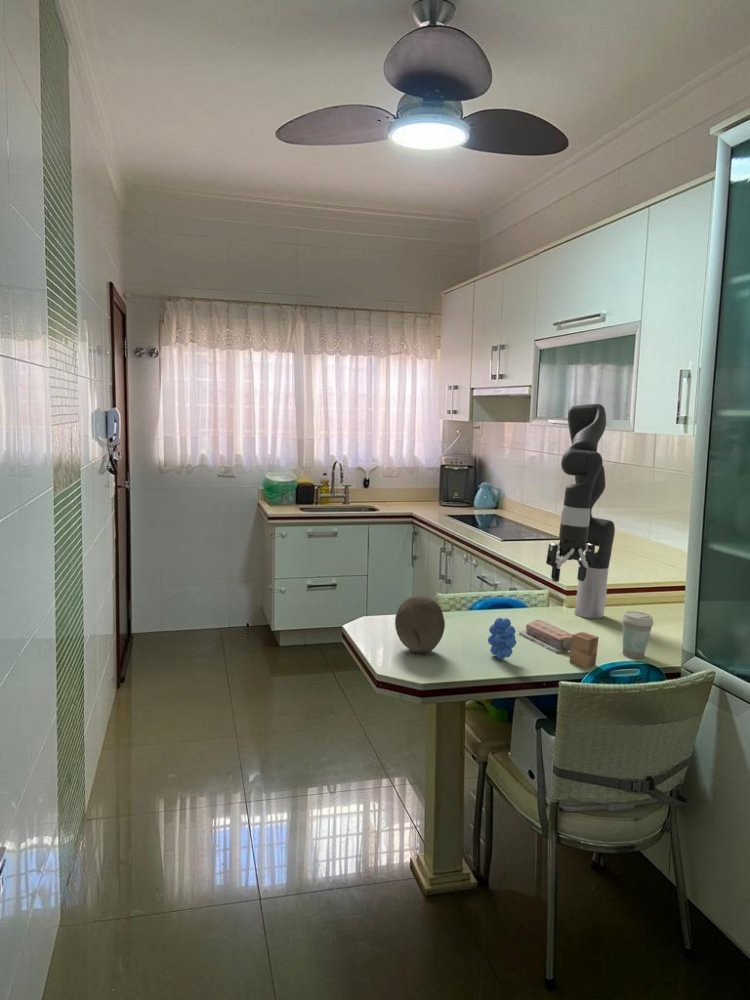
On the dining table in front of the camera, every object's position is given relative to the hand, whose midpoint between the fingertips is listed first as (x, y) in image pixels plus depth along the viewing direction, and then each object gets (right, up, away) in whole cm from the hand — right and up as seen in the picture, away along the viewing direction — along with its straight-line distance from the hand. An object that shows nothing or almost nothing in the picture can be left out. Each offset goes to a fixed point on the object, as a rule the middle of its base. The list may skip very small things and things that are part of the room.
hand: (568, 580), depth 201 cm
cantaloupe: (-42, -19, -1) cm, 46 cm away
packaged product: (-1, -20, +15) cm, 26 cm away
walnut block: (+3, -23, -2) cm, 23 cm away
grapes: (-18, -21, -2) cm, 28 cm away
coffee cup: (+21, -23, +9) cm, 32 cm away
